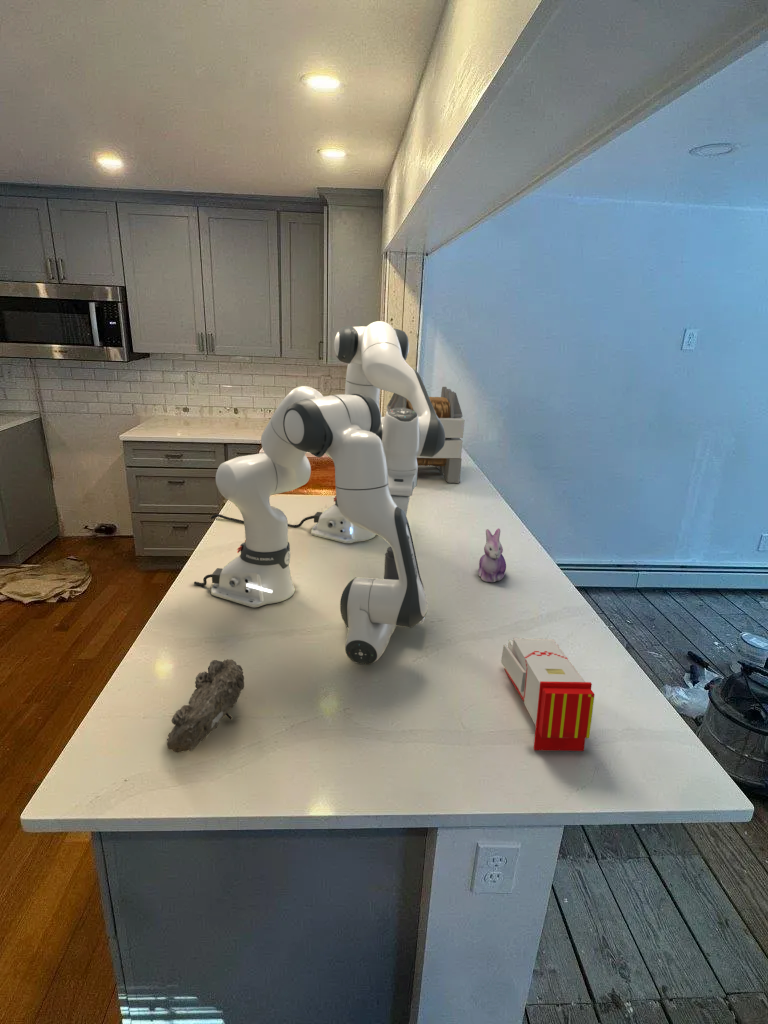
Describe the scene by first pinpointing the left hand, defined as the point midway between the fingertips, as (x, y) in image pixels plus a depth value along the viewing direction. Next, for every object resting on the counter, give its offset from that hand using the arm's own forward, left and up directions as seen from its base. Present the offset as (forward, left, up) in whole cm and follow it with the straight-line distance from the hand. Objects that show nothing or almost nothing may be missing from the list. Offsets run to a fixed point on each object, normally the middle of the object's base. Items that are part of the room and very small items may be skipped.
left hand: (392, 591), depth 147 cm
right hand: (0, -1, +17) cm, 17 cm away
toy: (+37, -27, -6) cm, 46 cm away
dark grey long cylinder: (0, -1, -6) cm, 6 cm away
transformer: (-18, +133, -6) cm, 135 cm away
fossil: (-23, -50, -6) cm, 56 cm away
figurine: (+24, +29, -6) cm, 38 cm away
